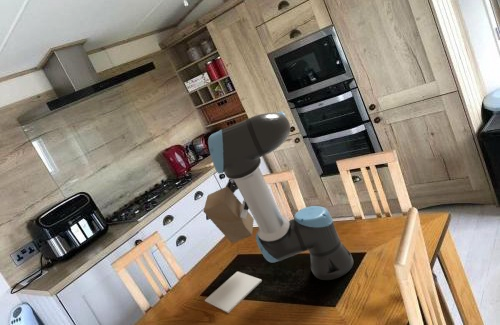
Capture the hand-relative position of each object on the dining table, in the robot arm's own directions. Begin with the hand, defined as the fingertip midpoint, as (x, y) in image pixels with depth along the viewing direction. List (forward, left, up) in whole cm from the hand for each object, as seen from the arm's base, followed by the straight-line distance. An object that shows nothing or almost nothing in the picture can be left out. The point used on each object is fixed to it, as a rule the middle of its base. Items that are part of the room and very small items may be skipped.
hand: (232, 216), depth 150 cm
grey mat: (-4, +16, -24) cm, 29 cm away
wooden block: (0, -2, -8) cm, 8 cm away
